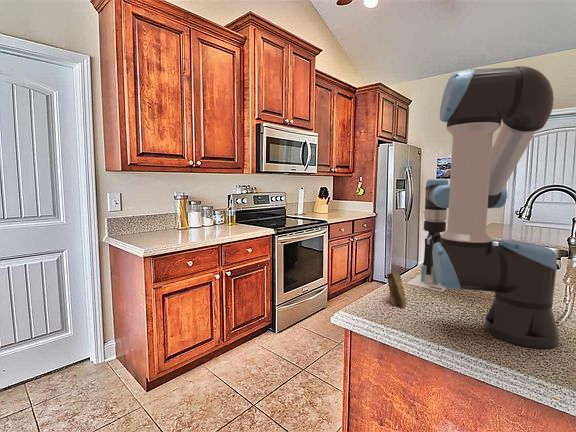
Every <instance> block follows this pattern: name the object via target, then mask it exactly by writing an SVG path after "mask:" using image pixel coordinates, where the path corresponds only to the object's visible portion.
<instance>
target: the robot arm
mask: <svg viewBox="0 0 576 432" xmlns="http://www.w3.org/2000/svg"><path fill="white" fill-rule="evenodd" d="M554 100H555V99H554V91H553V87H552V84H551V83H550V81H549V79H548V78H547V77H546V75H544V73H542V72H541V71H539V70H537V69H535V68H533V67H530V66H520V65H519V66H514V67H495V68H479V69H478V68H477V69H476V68H472V69H469V70H462V71H461V70H460V71H456V72H454V73H452V74H451V76H450V77H449V78H448V80H447V82H446V85H445V88H444V91H443V93H442V98H441V102H440V109H439V120H440V122H444V123H446V131H447V132H448V133H450V134H451V135H452V142H451V143H452V145H451V159H450V160H451V162H450V164H451V165H450V179H449V180H448V179H446V178H428V179H427V180H426V184H425V188H424V190H425V194H424V195H425V198H424V199H425V200H424V210H423V212H422V213H423V214H424V218H423V219H424V221H423V231H425V232H428V233H427V237H426V238H424V254H423V255H424V256H423V263H422V266H423V265H425V266H426V267H425V282H426V283H431V284H433V271H435V275H436V278H437V280H438V282H439V284H440V285H441V286H442V287H445V288H447V289H453V290H458V291H461V290H462V291H473V292H474V291H475V292H476V291H478V292H486V293H487V292H488V293H489V292H491V293H494V300H493V302H492V304H491V306H490V307H489V309H488V311H487V314H486V315H485V319H484V328H485V330H486V331H487V332H488V333H490V335H492V336H494V337H496V338H497V339H500V340H501V341H504V342H507V343H511V344H513V345H517V346H522V347H526V348H532V349H553V348H555V347H557V346H558V345H559V340H560V332H559V329H558V325H557V322H556V319H555V316H554V312H553V305H554V303H553V301H554V293H555V286H556V285H555V284H556V275H557V270H558V266H557V262H558V261H557V258H558V257H557V253H556V252H555V251H554V250H553V249H552V248H549V247H546V246H543V245H540V244H537V243H536V244H535V243H531V242H525V241H520V240H514V239H505V238H503V239H499V241H498V242H497V245H493V240H494V239H493V238H492V237H491V236H490V235H489V233H487V222H488V221H487V220H488V209H489V210H490V209H500V208H502V207H504V206H505V205H506V202H507V199H508V190H507V188H506V184H507V183H508V181H509V179H510V178H511V176H512V174H513V172H514V170H515V168H516V167H517V165H518V163H519V162H520V160H521V158H522V157H523V155H524V153H525V151H526V149H527V147H528V145H529V144H530V142H531V141H532V139H533V137H534V135H535V134H536V132H538V131H540V130H542V129H543V128H544V127H545V126H546V124H547V122H548V120H549V118H550V116H551V115H552V110H553V108H554ZM499 128H500V129H499ZM498 129H499V132H498V134H497V137H496V139H495V141H494V143H493V136H494V133H495V132H496V131H498ZM447 209H448V210H447ZM447 212H448V213H447ZM446 221H447V222H446ZM446 228H447V229H446ZM433 265H434V266H433Z"/></svg>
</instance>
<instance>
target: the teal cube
mask: <svg viewBox="0 0 576 432" xmlns="http://www.w3.org/2000/svg"><path fill="white" fill-rule="evenodd" d="M433 266H434V265H433ZM425 267H426V266H425V265H423V264H422V265H421V271H420V274H421V282H425ZM425 283H426V282H425ZM430 284H431V283H430ZM433 284H435V285H438V284H439V282H438V280H437V278H436V275H435V271H433Z"/></svg>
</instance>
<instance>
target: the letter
mask: <svg viewBox="0 0 576 432" xmlns="http://www.w3.org/2000/svg"><path fill="white" fill-rule="evenodd" d="M405 285H410V286H415V287H420V288H424V289H429V290H433V291H437V292H445V291H446V290H447V289H448V288H445V287H442V286H441V285H440V284H438V285H435V284H430V283H425V282H421V273H420V274H418V275H416V276H415V277H414V278H413V279H411V280H409V281H408V282H406V283H405Z"/></svg>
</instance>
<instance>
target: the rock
mask: <svg viewBox="0 0 576 432" xmlns="http://www.w3.org/2000/svg"><path fill="white" fill-rule="evenodd" d="M401 277H402V276H401V274H399V273H398V272H396V271H394V272H390V273H388V274H386V279H387V284H388V290H389V296H390V297H389V298H390V303H391V305H393V306H395V307H398V308H399V309H400V308H401V309H406V305H407V301H406V300H407V299H406V293H405V290H404V286H403V283H402V282H403V281H402V278H401Z"/></svg>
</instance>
